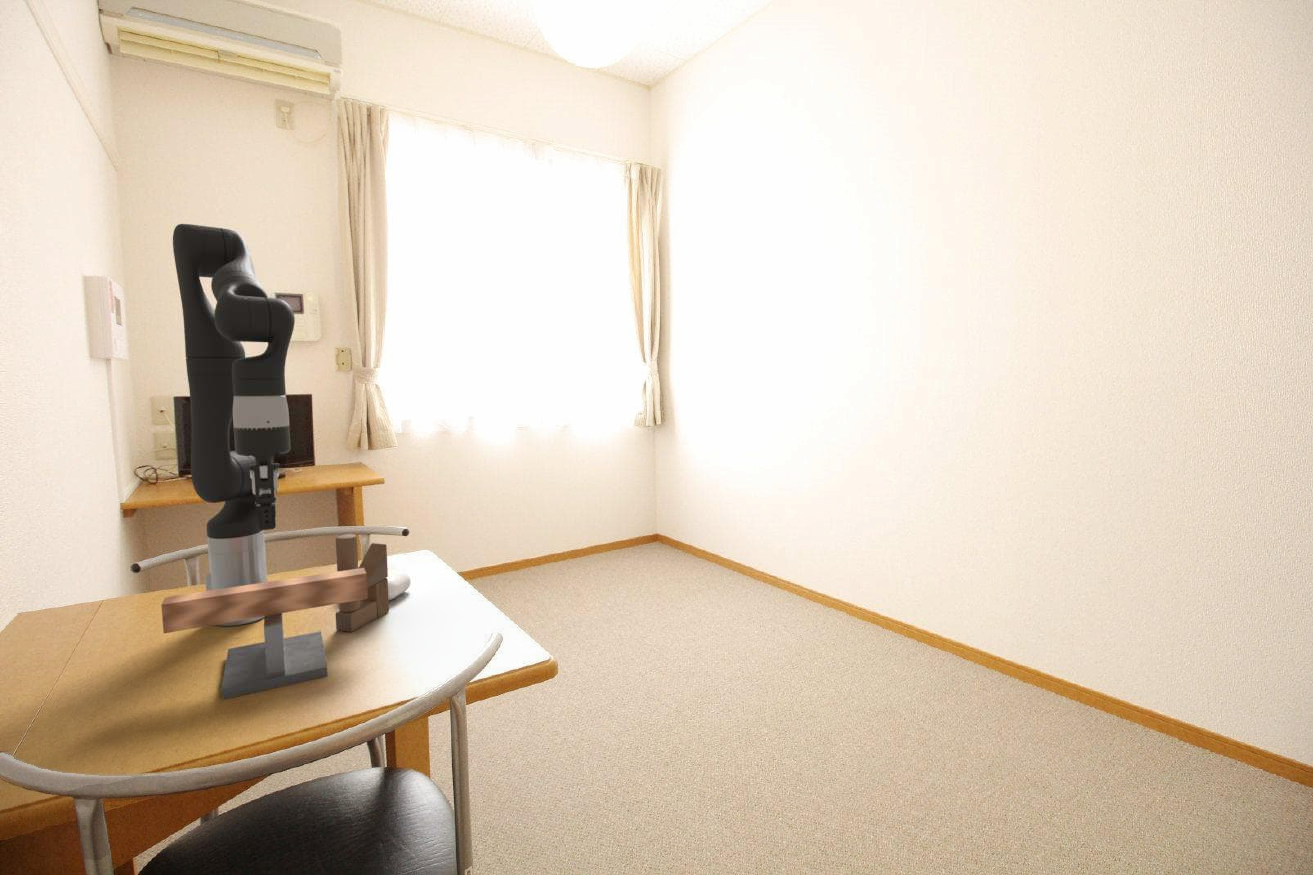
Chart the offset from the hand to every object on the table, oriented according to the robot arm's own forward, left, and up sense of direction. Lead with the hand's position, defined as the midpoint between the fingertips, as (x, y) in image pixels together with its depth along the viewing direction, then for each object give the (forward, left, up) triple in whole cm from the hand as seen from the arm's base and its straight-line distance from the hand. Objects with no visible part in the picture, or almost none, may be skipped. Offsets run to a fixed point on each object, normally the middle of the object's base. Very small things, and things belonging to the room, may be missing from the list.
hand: (268, 523), depth 100 cm
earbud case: (0, +32, -25) cm, 41 cm away
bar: (0, 0, -15) cm, 15 cm away
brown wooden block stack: (+4, +19, -25) cm, 31 cm away
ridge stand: (0, 0, -24) cm, 24 cm away
